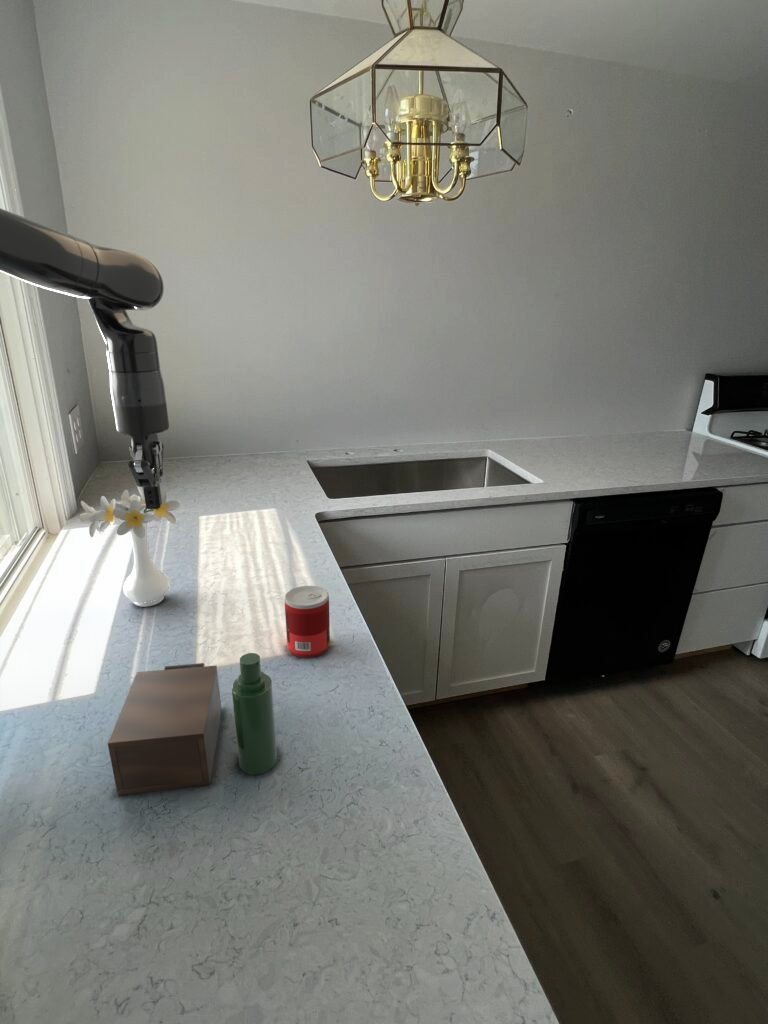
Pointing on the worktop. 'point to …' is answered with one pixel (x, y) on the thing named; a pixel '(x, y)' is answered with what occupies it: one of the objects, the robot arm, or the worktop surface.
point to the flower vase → (135, 541)
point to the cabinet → (167, 730)
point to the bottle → (254, 717)
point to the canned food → (307, 621)
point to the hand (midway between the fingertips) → (154, 507)
